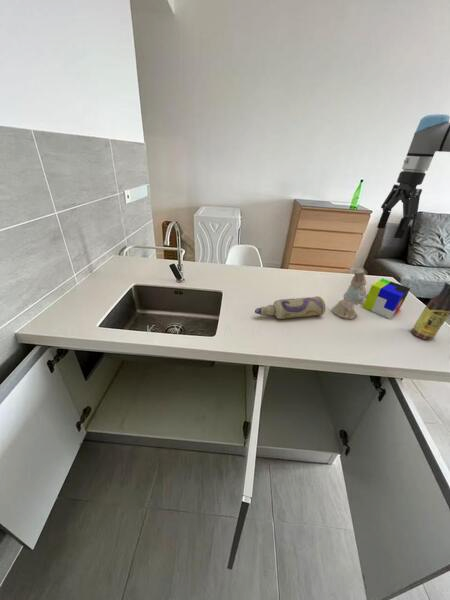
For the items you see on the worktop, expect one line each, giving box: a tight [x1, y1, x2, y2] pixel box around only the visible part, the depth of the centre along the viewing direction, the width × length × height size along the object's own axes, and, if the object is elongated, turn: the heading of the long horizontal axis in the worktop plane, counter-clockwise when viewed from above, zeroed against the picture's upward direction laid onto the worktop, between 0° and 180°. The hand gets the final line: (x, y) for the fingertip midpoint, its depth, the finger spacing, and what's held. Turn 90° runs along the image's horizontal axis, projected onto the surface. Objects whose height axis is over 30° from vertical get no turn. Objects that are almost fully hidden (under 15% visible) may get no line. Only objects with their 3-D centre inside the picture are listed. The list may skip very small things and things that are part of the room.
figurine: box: [331, 267, 368, 320], centre depth 87 cm, size 9×8×20 cm
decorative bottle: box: [254, 295, 327, 320], centre depth 88 cm, size 26×8×7 cm, turn 101°
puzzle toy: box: [362, 278, 411, 320], centre depth 95 cm, size 10×10×10 cm
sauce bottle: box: [411, 281, 450, 341], centre depth 79 cm, size 6×6×20 cm
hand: (388, 232), depth 95 cm, fingers open, 13 cm apart
